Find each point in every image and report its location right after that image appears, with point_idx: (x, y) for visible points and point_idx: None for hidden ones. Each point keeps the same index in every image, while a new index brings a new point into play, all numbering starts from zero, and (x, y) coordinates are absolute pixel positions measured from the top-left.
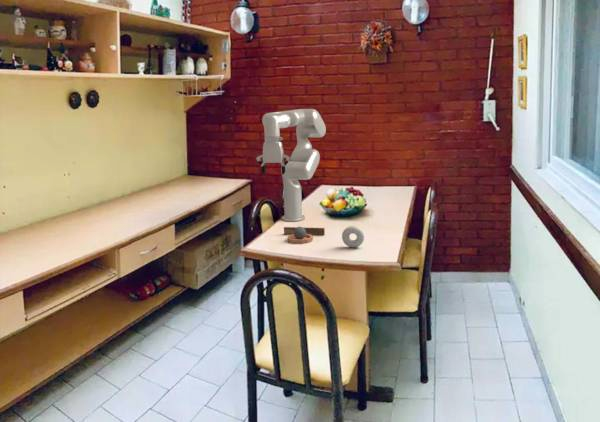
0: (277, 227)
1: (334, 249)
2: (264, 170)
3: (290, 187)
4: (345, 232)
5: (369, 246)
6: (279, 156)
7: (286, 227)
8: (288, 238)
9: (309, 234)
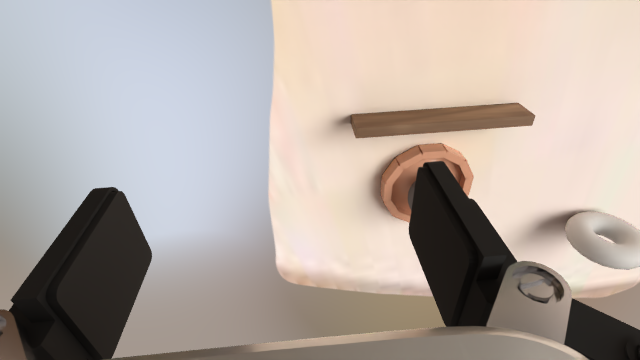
0: (285, 3)
1: (524, 236)
2: (130, 294)
3: None
4: (591, 260)
5: (633, 199)
6: None
7: (367, 134)
8: (388, 209)
9: (462, 160)
